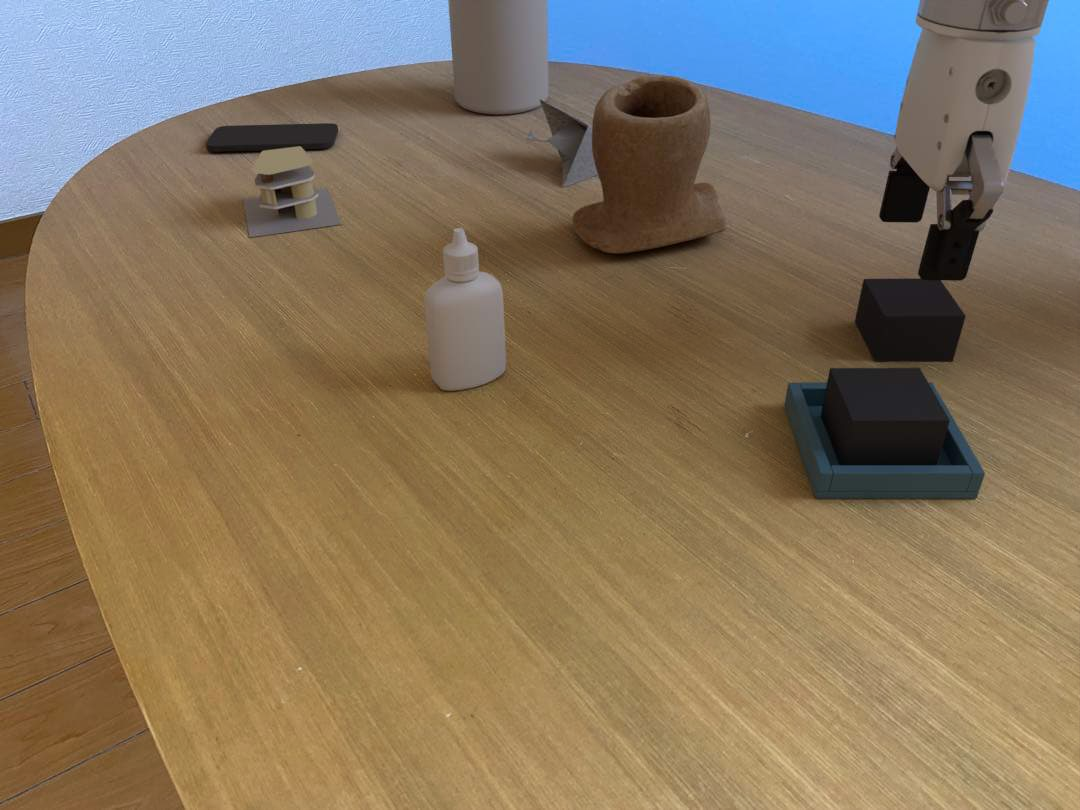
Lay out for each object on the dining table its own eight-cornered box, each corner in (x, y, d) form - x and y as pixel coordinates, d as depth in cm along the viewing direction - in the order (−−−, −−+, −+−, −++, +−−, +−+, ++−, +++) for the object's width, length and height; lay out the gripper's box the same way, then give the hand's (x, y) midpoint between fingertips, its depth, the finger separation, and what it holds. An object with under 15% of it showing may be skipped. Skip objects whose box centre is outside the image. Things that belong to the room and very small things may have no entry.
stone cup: (605, 278, 84) (610, 111, 75) (560, 226, 93) (559, 71, 84) (755, 252, 88) (776, 90, 79) (698, 204, 97) (711, 54, 88)
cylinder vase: (567, 99, 126) (567, -112, 112) (501, 123, 119) (492, -100, 104) (502, 82, 133) (494, -119, 119) (436, 103, 126) (419, -109, 111)
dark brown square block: (907, 415, 65) (919, 367, 63) (935, 470, 60) (950, 420, 58) (820, 416, 65) (829, 367, 63) (841, 470, 60) (852, 420, 58)
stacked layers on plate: (243, 199, 100) (232, 149, 96) (327, 188, 102) (320, 138, 99) (249, 237, 92) (238, 184, 89) (341, 224, 94) (333, 172, 91)
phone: (331, 143, 111) (203, 146, 110) (332, 150, 111) (204, 153, 111) (338, 122, 117) (217, 125, 116) (339, 129, 117) (218, 132, 117)
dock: (926, 406, 67) (932, 381, 66) (977, 499, 59) (985, 473, 58) (783, 406, 67) (787, 382, 66) (815, 499, 59) (820, 473, 58)
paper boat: (627, 172, 101) (552, 164, 97) (599, 208, 106) (527, 201, 102) (600, 86, 106) (527, 74, 101) (574, 124, 111) (504, 115, 106)
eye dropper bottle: (435, 361, 73) (421, 217, 66) (507, 360, 73) (501, 216, 66) (429, 393, 69) (414, 244, 62) (505, 392, 69) (498, 243, 62)
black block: (928, 321, 77) (939, 278, 74) (953, 361, 72) (966, 315, 69) (854, 322, 77) (863, 278, 75) (874, 361, 72) (884, 316, 70)
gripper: (1105, 37, 53) (1015, 305, 62) (990, -24, 67) (931, 202, 77) (971, 36, 53) (902, 304, 63) (884, -25, 67) (839, 201, 77)
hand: (918, 248), depth 70 cm, fingers open, 9 cm apart
